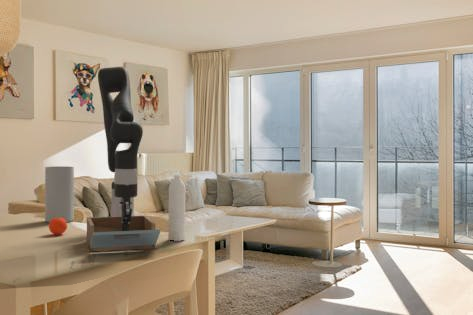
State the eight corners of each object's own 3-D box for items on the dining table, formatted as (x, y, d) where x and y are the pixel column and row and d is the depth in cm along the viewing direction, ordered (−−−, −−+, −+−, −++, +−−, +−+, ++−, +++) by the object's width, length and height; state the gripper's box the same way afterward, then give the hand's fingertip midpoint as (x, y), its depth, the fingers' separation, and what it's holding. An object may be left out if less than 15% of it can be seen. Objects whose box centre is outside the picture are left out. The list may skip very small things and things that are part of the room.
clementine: (49, 233, 225) (49, 215, 224) (67, 232, 226) (67, 215, 226) (48, 236, 217) (48, 218, 217) (66, 235, 219) (66, 217, 219)
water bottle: (169, 241, 208) (170, 174, 208) (166, 238, 215) (167, 173, 214) (192, 240, 211) (193, 174, 210) (189, 237, 217) (189, 173, 216)
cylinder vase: (39, 221, 256) (39, 167, 255) (62, 218, 266) (62, 166, 265) (56, 224, 248) (56, 168, 248) (79, 221, 259) (79, 167, 258)
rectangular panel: (91, 245, 187) (92, 232, 179) (155, 242, 194) (159, 229, 185) (91, 251, 186) (93, 238, 177) (155, 247, 193) (160, 235, 184)
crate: (86, 241, 207) (86, 217, 207) (146, 238, 214) (146, 215, 213) (90, 251, 188) (90, 225, 188) (155, 248, 195) (155, 223, 194)
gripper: (112, 180, 189) (111, 231, 190) (116, 184, 177) (116, 238, 177) (134, 180, 192) (134, 230, 192) (140, 184, 179) (139, 237, 180)
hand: (125, 234), depth 185 cm, fingers closed
